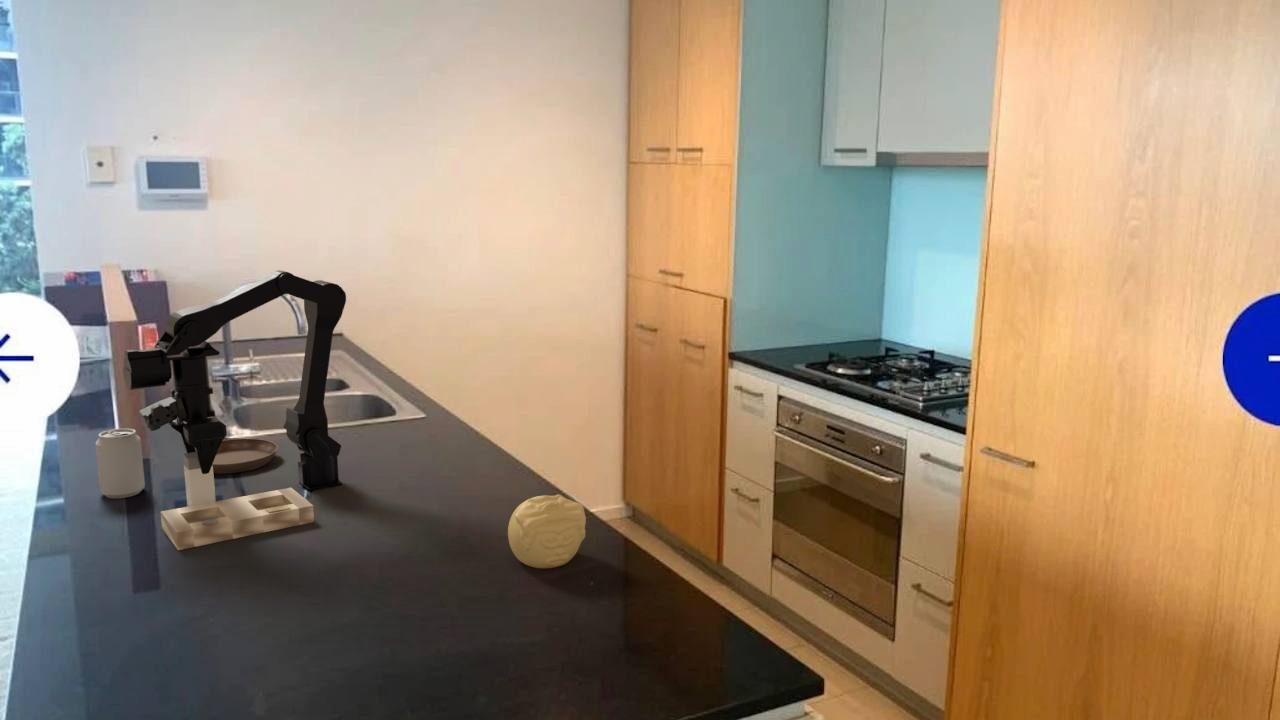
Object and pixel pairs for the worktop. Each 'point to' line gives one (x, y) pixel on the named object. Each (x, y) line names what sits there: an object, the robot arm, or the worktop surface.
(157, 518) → the worktop surface
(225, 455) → the plant saucer
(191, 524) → the socket block
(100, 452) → the can
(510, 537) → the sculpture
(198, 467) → the plug
